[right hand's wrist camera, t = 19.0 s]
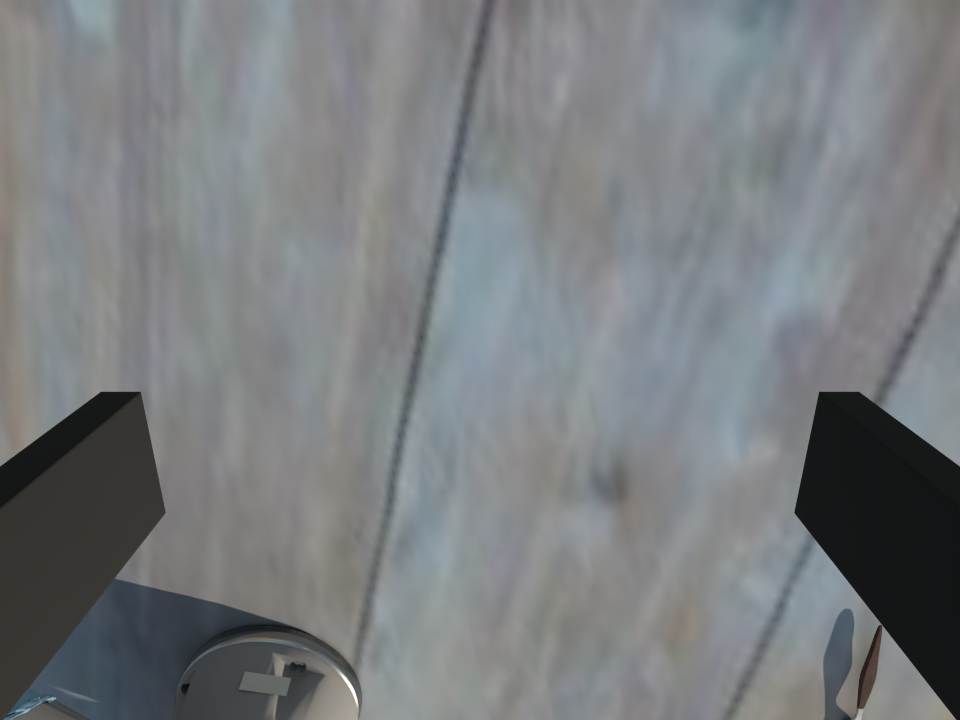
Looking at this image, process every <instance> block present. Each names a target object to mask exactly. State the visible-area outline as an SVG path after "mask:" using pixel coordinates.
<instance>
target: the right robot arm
mask: <svg viewBox="0 0 960 720" xmlns="http://www.w3.org/2000/svg"><path fill="white" fill-rule="evenodd" d="M165 513H166V512H165V508H164V503H163V498H162V493H161V488H160V483H159V478H158V474H157V469H156V464H155V459H154V454H153V449H152V444H151V439H150V435H149V430H148V425H147V420H146V415H145V410H144V405H143V401H142V396H141V392H100V393H99V394H98V395H96V396H95V397H94V398H92V399H91V400H89V401H88V402H87V403H85V404H84V405H83V406H81V407H80V408H79V409H77V410H76V411H75V412H73V413H72V414H71V415H69V416H68V417H67V418H65V419H64V420H62V421H61V422H60V423H58V424H57V425H56V426H54V427H53V428H52V429H50V430H49V431H48V432H46V433H45V434H44V435H42V436H41V437H40V438H38V439H37V440H35V441H34V442H33V443H31V444H30V445H29V446H27V447H26V448H25V449H23V450H22V451H21V452H19V453H18V454H17V455H15V456H14V457H13V458H11V459H10V460H8V461H7V462H6V463H4V464H3V465H2V466H0V720H89V719H88V718H86V717H84V716H82V715H80V714H79V713H77V712H75V711H73V710H71V709H69V708H68V707H66V706H64V705H62V704H60V703H59V702H57V701H56V697H54V696H52V695H48V694H45V695H41V694H39V693H37V692H34V691H32V690H30V689H28V688H29V687H30V685H31V684H32V683H33V682H34V680H35V679H36V678H37V676H38V675H39V674H40V673H41V671H42V670H43V669H44V667H45V666H46V665H47V664H48V662H49V661H50V660H51V659H52V657H53V656H54V655H55V653H56V652H57V651H58V650H59V648H60V647H61V646H62V644H63V643H64V642H65V641H66V639H67V638H68V637H69V636H70V634H71V633H72V632H73V630H74V629H75V628H76V627H77V625H78V624H79V623H80V621H81V620H82V619H83V618H84V616H85V615H86V614H87V613H88V611H89V610H90V609H91V607H92V606H93V605H94V604H95V602H96V601H97V600H98V599H99V597H100V596H101V595H102V593H103V592H104V591H105V590H106V588H107V587H108V586H109V584H110V583H111V582H112V581H113V579H114V578H115V577H116V576H117V574H118V573H119V572H120V570H121V569H122V568H123V567H124V565H125V564H126V563H127V561H128V560H129V559H130V558H131V556H132V555H133V554H134V553H135V551H136V550H137V549H138V547H139V546H140V545H141V544H142V542H143V541H144V540H145V538H146V537H147V536H148V535H149V533H150V532H151V531H152V530H153V528H154V527H155V526H156V524H157V523H158V522H159V521H160V519H161V518H162V517H163V516H164V514H165ZM794 513H795V514H796V516H797V517H798V518H799V519H800V521H801V522H802V523H803V524H804V526H805V527H806V528H807V530H808V531H809V532H810V533H811V535H812V536H813V537H814V538H815V540H816V541H817V542H818V544H819V545H820V546H821V547H822V549H823V550H824V551H825V553H826V554H827V555H828V556H829V558H830V559H831V560H832V561H833V563H834V564H835V565H836V567H837V568H838V569H839V570H840V572H841V573H842V574H843V576H844V577H845V578H846V579H847V581H848V582H849V583H850V584H851V586H852V587H853V588H854V590H855V591H856V592H857V593H858V595H859V596H860V597H861V599H862V600H863V601H864V602H865V604H866V605H867V606H868V607H869V609H870V610H871V611H872V613H873V614H874V615H875V616H876V618H877V619H878V620H879V621H880V623H881V624H882V625H883V627H884V628H885V629H886V630H887V632H888V633H889V634H890V636H891V637H892V638H893V639H894V641H895V642H896V643H897V644H898V646H899V647H900V648H901V650H902V651H903V652H904V653H905V655H906V656H907V657H908V659H909V660H910V661H911V662H912V664H913V665H914V666H915V667H916V669H917V670H918V671H919V673H920V674H921V675H922V676H923V678H924V679H925V680H926V682H927V683H928V684H929V685H930V687H931V688H932V689H933V690H934V692H935V693H936V694H937V696H938V697H939V698H940V699H941V701H942V702H943V703H944V704H945V706H946V707H947V708H948V710H949V711H950V712H951V713H952V715H953V716H954V717H955V719H956V720H960V466H958V465H957V464H956V463H954V462H953V461H952V460H950V459H949V458H947V457H946V456H945V455H943V454H942V453H941V452H939V451H938V450H937V449H935V448H934V447H933V446H931V445H930V444H929V443H927V442H926V441H925V440H923V439H922V438H920V437H919V436H918V435H916V434H915V433H914V432H912V431H911V430H910V429H908V428H907V427H906V426H904V425H903V424H902V423H900V422H899V421H898V420H896V419H895V418H893V417H892V416H891V415H889V414H888V413H887V412H885V411H884V410H883V409H881V408H880V407H879V406H877V405H876V404H875V403H873V402H872V401H871V400H869V399H868V398H866V397H865V396H864V395H862V394H861V393H860V392H819V396H818V401H817V405H816V410H815V415H814V420H813V425H812V430H811V435H810V439H809V444H808V449H807V454H806V459H805V464H804V469H803V474H802V478H801V483H800V488H799V493H798V498H797V503H796V508H795V512H794ZM361 705H362V693H361V687H360V684H359V681H358V678H357V676H356V674H355V672H354V671H353V669H352V668H351V666H350V665H349V663H348V662H347V661H346V660H345V659H344V658H343V657H342V656H341V655H340V654H339V653H338V652H337V651H336V650H335V649H333V648H332V647H330V646H329V645H328V644H326V643H324V642H323V641H321V640H319V639H317V638H315V637H313V636H311V635H308V634H306V633H303V632H300V631H297V630H293V629H289V628H284V627H277V626H249V627H243V628H238V629H234V630H231V631H228V632H225V633H223V634H221V635H218V636H216V637H215V638H213V639H211V640H210V641H208V642H207V643H206V644H204V645H203V646H202V647H201V648H200V649H199V650H198V651H197V652H196V654H195V655H194V656H193V658H192V659H191V661H190V663H189V665H188V667H187V668H186V670H185V672H184V674H183V676H182V678H181V680H180V682H179V685H178V689H177V694H176V699H175V708H174V715H173V720H359V716H360V711H361Z"/></svg>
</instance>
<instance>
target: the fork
mask: <svg viewBox="0 0 960 720" xmlns="http://www.w3.org/2000/svg"><path fill="white" fill-rule="evenodd" d="M881 635H882V625H879V626H878V628H877V631H876V633H875V636H874V638H873V641H872V644H871V647H870V650H869V653H868V656H867V658H866V661H865V663H864V666H863V668H862V671H861V675H860V679H859V688H858V701H857V711H856V715H855V716H854V717H853V718H852V719H850V720H861V715H862V712H863V709H864V707H865V705H866V702H867V700H868V698H869V695H870V693H871V691H872V688H873V686H874V683H875V679H876V674H877V666H878V657H879V650H880V643H881Z"/></svg>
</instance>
